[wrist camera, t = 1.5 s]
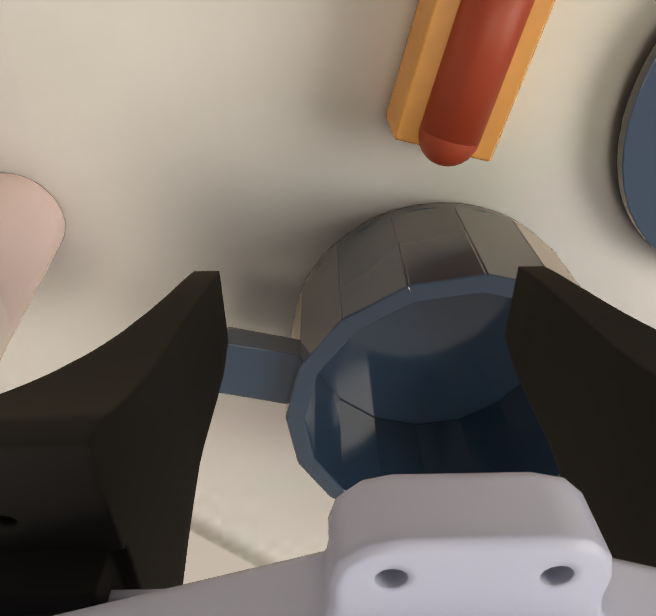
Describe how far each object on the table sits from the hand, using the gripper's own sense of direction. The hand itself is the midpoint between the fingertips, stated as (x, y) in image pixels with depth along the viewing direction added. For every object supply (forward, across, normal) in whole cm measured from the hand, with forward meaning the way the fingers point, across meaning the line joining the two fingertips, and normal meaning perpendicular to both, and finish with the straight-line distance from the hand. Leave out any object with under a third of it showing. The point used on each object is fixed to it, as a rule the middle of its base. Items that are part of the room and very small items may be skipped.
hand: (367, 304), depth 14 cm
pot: (+10, -4, +8) cm, 13 cm away
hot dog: (+10, -4, -5) cm, 12 cm away
